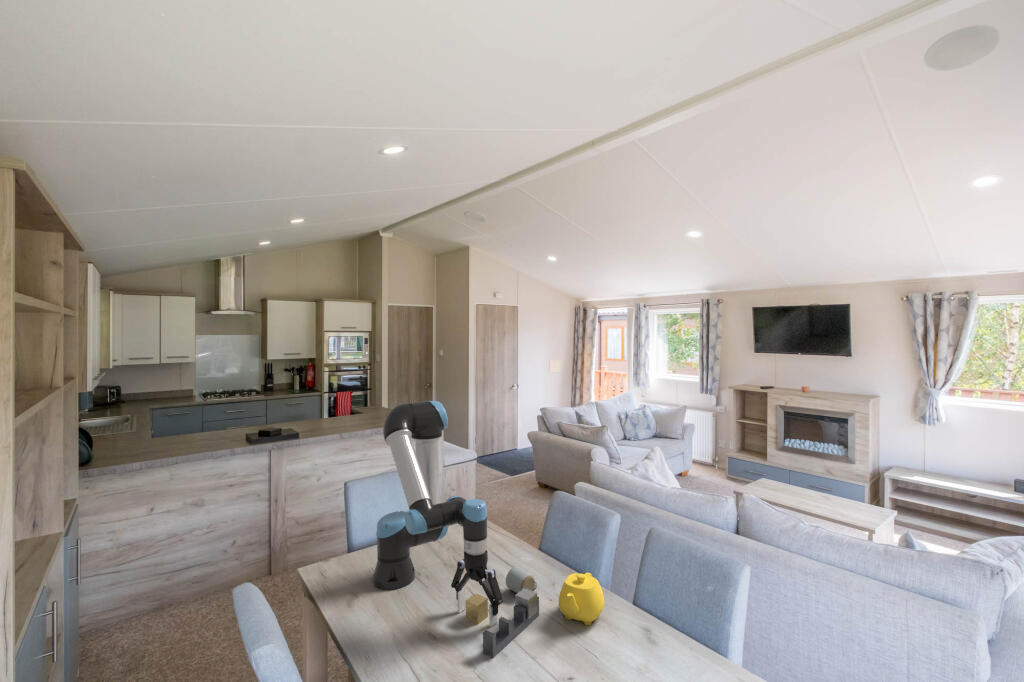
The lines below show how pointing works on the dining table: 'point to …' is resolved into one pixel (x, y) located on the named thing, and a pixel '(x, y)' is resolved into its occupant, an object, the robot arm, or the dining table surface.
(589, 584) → the teapot
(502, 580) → the dining table surface
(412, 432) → the robot arm
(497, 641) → the rack rail
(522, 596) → the plain grey cube
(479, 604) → the unfinished wooden cube
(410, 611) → the dining table surface
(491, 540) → the dining table surface
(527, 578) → the ceramic mug
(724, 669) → the dining table surface
